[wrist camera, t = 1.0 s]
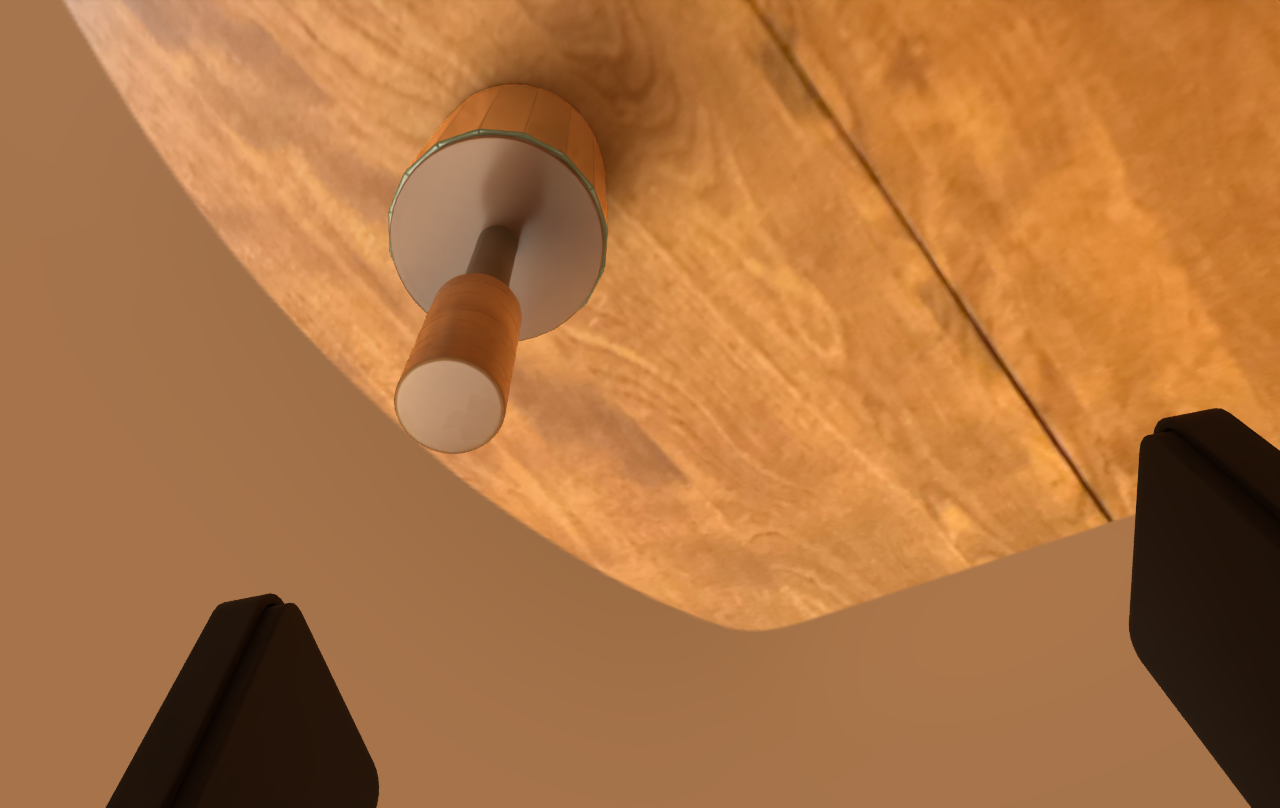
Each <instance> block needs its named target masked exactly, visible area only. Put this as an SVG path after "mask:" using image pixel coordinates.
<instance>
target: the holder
mask: <svg viewBox="0 0 1280 808" xmlns="http://www.w3.org/2000/svg"><path fill="white" fill-rule="evenodd" d="M485 134H495V135H507V136H514V137H518V138H521V139H525V140H528V141H531V142H533V143H536V144H538V145H540V146H543V147H545V148H546V149H548V150H550V151H551V152H553V153H555V154H556V155H557V156H559V157H560V158H561V159H563V160H564V161H565V162H566V163H568V164H569V165H570V166H571V167H572V168H573V169H574V171H575V172H576V173H577V174H578V175H579V176H580V178H581V179H582V180H583V181H584V183H585V184H586V186H587V187H588V189H589V191H590V193H591V194H592V196H593V198H594V201H595V203H596V205H597V208H598V210H599V214H600V218H601V222H602V228H603V236H604V251H603V259H602V266H601V269H600V273H599V276H598V279H597V281H596V284H595V286H594V288H593V290H592V292H591V294H592V293H593V291H594V289H595V287H596V285H597V283H598V281H599V279H600V277H601V276H602V274H603V272H604V268H605V262H606V249H607V237H608V221H607V204H606V187H605V169H604V163H603V160H602V156H601V152H600V148H599V145H598V142H597V140H596V137H595V135H594V133H593V131H592V130H591V128H590V126H589V124H588V123H587V122H586V120H585V119H584V118H583V116H582V115H581V114H580V113H579V112H578V111H577V110H576V109H575V108H574V107H573V106H572V105H570V104H569V103H568V102H567V101H565V100H564V99H562V98H561V97H559V96H557V95H556V94H554V93H551V92H549V91H547V90H545V89H541V88H538V87H535V86H530V85H523V84H506V85H498V86H494V87H491V88H487V89H485V90H482V91H480V92H477V93H476V94H474V95H472V96H471V97H469V98H467V99H466V100H465V101H464V102H462V103H461V104H460V105H459V106H458V107H457V108H456V109H455V110H454V111H453V112H452V113H451V114H450V115H449V116H448V117H447V118H446V119H445V120H444V121H443V123H442V124H441V125H440V127H439V128H438V129H437V130H436V132H435V133H434V134H433V136H432V137H431V138H430V140H429V141H428V142H427V144H426V145H425V146H424V148H423V149H422V150H421V151H420V153H419V154H418V155H417V157H416V158H415V159H414V161H413V162H412V163H411V165H410V166H409V167H408V168H407V170H406V171H405V173H404V174H403V176H402V179H401V181H400V184H399V186H398V189H397V191H396V193H395V196H394V198H393V201H392V203H391V206H390V208H389V212H388V220H389V251H390V253H391V257H392V259H393V256H392V252H391V245H390V221H391V216H392V210H393V207H394V204H395V201H396V198H397V195H398V193H399V191H400V189H401V187H402V186H403V184H404V182H405V181H406V179H407V178H408V177H409V175H410V174H411V172H412V171H413V170H414V169H415V168H416V167H417V166H418V165H419V163H420V162H421V161H422V160H424V159H425V158H426V157H427V156H429V155H430V154H431V153H432V152H434V151H436V150H437V149H439V148H441V147H442V146H444V145H446V144H449V143H451V142H453V141H456V140H458V139H462V138H466V137H470V136H476V135H485ZM591 294H590V295H589V297H588V298H587V300H586V301H585V303H584V304H583V305H582V306H581V307H580V309H581V308H582V307H583V306H585V304H586V303H587V302H588V300H589V298H590V296H591ZM580 309H579V310H580ZM553 330H554V329H553ZM551 331H552V330H551Z"/></svg>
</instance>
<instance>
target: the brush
mask: <svg viewBox="0 0 1280 808" xmlns="http://www.w3.org/2000/svg"><path fill="white" fill-rule="evenodd" d="M390 245H391V252H392V256H393V261H394V264H395V267H396V270H397V272H398V275H399V277H400V279H401V281H402V283H403V285H404V286H405V288H406V290H407V291H408V292H409V294H410V295H411V297H412V298H413V299H414V301H415V302H416V303H417V304H418V305H419V306H420V307H421V308H422V309H423V310H424V311H425V312H426V313H427V316H426V319H425V321H424V323H423V326H422V328H421V330H420V333H419V335H418V338H417V340H416V342H415V345H414V347H413V349H412V352H411V354H410V356H409V359H408V361H407V364H406V366H405V368H404V371H403V373H402V375H401V378H400V380H399V382H398V385H397V388H396V391H395V398H394V404H395V411H396V415H397V417H398V420H399V422H400V423H401V425H402V427H403V428H404V430H405V431H406V432H407V434H408V435H409V436H410V437H411V438H412V439H414V440H415V441H416V442H418V443H419V444H421V445H422V446H424V447H426V448H428V449H431V450H434V451H437V452H442V453H449V454H457V453H465V452H469V451H472V450H475V449H477V448H479V447H481V446H483V445H485V444H486V443H488V442H489V441H490V440H491V439H492V438H493V437H494V436H495V435H496V434H497V433H498V431H499V429H500V428H501V426H502V424H503V421H504V417H505V413H506V407H507V401H508V396H509V390H510V384H511V378H512V373H513V367H514V361H515V356H516V350H517V344H518V341H522V340H526V339H530V338H534V337H537V336H540V335H542V334H545V333H547V332H549V331H551V330H553V329H555V328H557V327H559V326H560V325H561V324H563V323H564V322H566V321H567V320H568V319H569V318H571V317H572V316H573V315H574V314H575V313H576V312H577V311H578V310H579V309H580V307H581V306H582V305H583V304H584V303H585V301H586V300H587V298H588V297H589V295H590V294H591V292H592V290H593V288H594V286H595V284H596V281H597V279H598V276H599V273H600V269H601V266H602V259H603V251H604V236H603V228H602V222H601V218H600V214H599V210H598V208H597V205H596V203H595V201H594V198H593V196H592V194H591V193H590V191H589V189H588V187H587V186H586V184H585V183H584V181H583V180H582V179H581V178H580V176H579V175H578V174H577V173H576V172H575V171H574V169H573V168H572V167H571V166H570V165H569V164H568V163H566V162H565V161H564V160H563V159H561V158H560V157H559V156H557V155H556V154H555V153H553V152H551V151H550V150H548V149H546V148H545V147H543V146H540V145H538V144H536V143H533V142H531V141H528V140H525V139H521V138H518V137H514V136H507V135H495V134H485V135H476V136H470V137H466V138H462V139H458V140H456V141H453V142H451V143H449V144H446V145H444V146H442V147H441V148H439V149H437V150H436V151H434V152H432V153H431V154H430V155H429V156H427V157H426V158H425V159H424V160H422V161H421V162H420V163H419V165H418V166H417V167H416V168H415V169H414V170H413V171H412V172H411V174H410V175H409V177H408V178H407V179H406V181H405V182H404V184H403V186H402V187H401V189H400V191H399V193H398V195H397V198H396V201H395V204H394V207H393V210H392V216H391V221H390Z"/></svg>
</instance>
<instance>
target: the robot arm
mask: <svg viewBox="0 0 1280 808" xmlns="http://www.w3.org/2000/svg"><path fill="white" fill-rule="evenodd" d="M1129 632H1130V637H1131V641H1132V644H1133V647H1134V649H1135V651H1136V653H1137V655H1138V657H1139V659H1140V660H1141V662H1142V663H1143V664H1144V666H1145V667H1146V668H1147V670H1148V671H1149V672H1150V674H1151V675H1152V676H1153V678H1154V679H1155V680H1156V682H1157V683H1158V684H1159V686H1160V687H1161V688H1162V690H1163V691H1164V692H1165V694H1166V695H1167V696H1168V698H1169V699H1170V700H1171V702H1172V703H1173V704H1174V706H1175V707H1176V708H1177V710H1178V711H1179V712H1180V713H1181V715H1182V716H1183V718H1185V720H1186V721H1187V723H1188V724H1189V725H1190V727H1191V728H1192V729H1193V731H1194V732H1195V733H1196V735H1197V736H1198V737H1199V739H1200V740H1201V741H1202V743H1203V744H1204V745H1205V746H1206V748H1207V749H1208V751H1209V752H1210V753H1211V755H1212V756H1213V757H1214V759H1215V760H1216V761H1217V763H1218V764H1219V765H1220V767H1221V768H1222V769H1223V770H1224V772H1225V773H1226V774H1227V776H1228V777H1229V778H1230V780H1231V781H1232V783H1233V784H1234V785H1235V786H1236V788H1237V789H1238V790H1239V792H1240V793H1241V794H1242V796H1243V797H1244V798H1245V800H1246V801H1247V802H1248V804H1249V805H1250V806H1251V808H1280V451H1279V450H1278V449H1277V448H1275V447H1274V446H1273V445H1271V444H1270V443H1269V442H1268V441H1266V440H1265V439H1264V438H1262V437H1261V436H1260V435H1258V434H1257V433H1256V432H1254V431H1253V430H1252V429H1250V428H1249V427H1248V426H1246V425H1245V424H1244V423H1242V422H1241V421H1240V420H1238V419H1237V418H1236V417H1234V416H1233V415H1232V414H1231V413H1229V412H1227V411H1225V410H1223V409H1218V408H1214V409H1209V410H1203V411H1198V412H1193V413H1188V414H1183V415H1178V416H1173V417H1168V418H1163V419H1162V420H1160V421H1159V422H1158V423H1157V425H1156V427H1155V429H1154V434H1152V435H1147V436H1146V437H1144V438H1143V440H1142V442H1141V445H1140V453H1139V469H1138V485H1137V501H1136V518H1135V535H1134V550H1133V567H1132V583H1131V600H1130V615H1129ZM378 796H379V781H378V775H377V770H376V768H375V765H374V762H373V760H372V758H371V756H370V754H369V752H368V750H367V748H366V746H365V744H364V742H363V740H362V737H361V735H360V733H359V731H358V729H357V727H356V725H355V723H354V721H353V719H352V717H351V715H350V713H349V710H348V708H347V706H346V704H345V702H344V700H343V698H342V696H341V694H340V692H339V690H338V687H337V686H336V683H335V681H334V679H333V677H332V675H331V673H330V671H329V669H328V667H327V665H326V662H325V660H324V658H323V656H322V654H321V652H320V650H319V648H318V646H317V644H316V642H315V640H314V638H313V635H312V633H311V631H310V629H309V627H308V625H307V623H306V621H305V619H304V617H303V615H302V613H301V611H300V609H299V608H298V607H297V606H296V605H295V604H293V603H287V604H284V603H283V601H282V600H281V599H280V598H279V597H278V596H277V595H275V594H265V595H260V596H255V597H249V598H244V599H239V600H234V601H229V602H224V603H222V604H220V605H218V606H217V607H216V609H215V610H214V611H213V613H212V615H211V616H210V618H209V620H208V622H207V624H206V626H205V627H204V629H203V631H202V633H201V635H200V637H199V638H198V640H197V642H196V644H195V646H194V647H193V649H192V651H191V653H190V655H189V657H188V658H187V660H186V662H185V664H184V666H183V668H182V670H181V671H180V673H179V675H178V677H177V679H176V681H175V682H174V684H173V686H172V688H171V690H170V692H169V693H168V695H167V697H166V699H165V701H164V702H163V704H162V706H161V708H160V710H159V711H158V713H157V715H156V717H155V719H154V721H153V722H152V724H151V726H150V728H149V730H148V731H147V733H146V735H145V737H144V739H143V741H142V743H141V744H140V746H139V748H138V750H137V752H136V753H135V755H134V757H133V759H132V761H131V763H130V764H129V766H128V768H127V770H126V772H125V773H124V775H123V777H122V779H121V781H120V782H119V785H118V786H117V788H116V790H115V792H114V793H113V795H112V797H111V799H110V801H109V803H108V805H107V806H106V808H376V806H377V802H378Z"/></svg>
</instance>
